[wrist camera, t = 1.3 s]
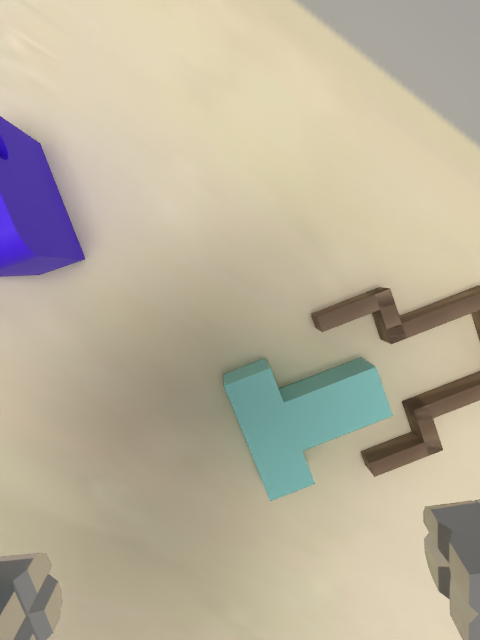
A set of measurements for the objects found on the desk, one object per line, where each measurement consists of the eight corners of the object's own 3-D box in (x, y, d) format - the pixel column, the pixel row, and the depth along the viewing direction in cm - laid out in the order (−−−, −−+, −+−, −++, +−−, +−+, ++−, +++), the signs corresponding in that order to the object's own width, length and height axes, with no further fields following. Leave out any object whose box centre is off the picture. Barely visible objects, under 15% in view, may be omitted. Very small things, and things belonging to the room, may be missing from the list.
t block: (386, 431, 42) (404, 448, 38) (265, 478, 42) (270, 501, 38) (349, 325, 40) (363, 331, 36) (223, 374, 40) (223, 386, 36)
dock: (514, 406, 42) (533, 415, 39) (365, 464, 42) (374, 476, 39) (469, 252, 39) (485, 251, 37) (310, 314, 39) (317, 317, 37)
